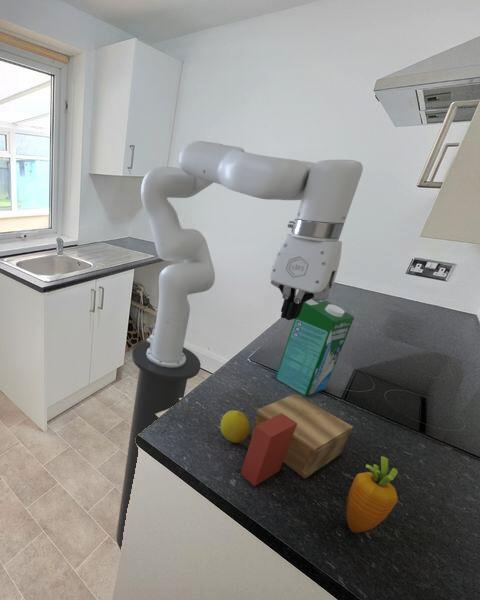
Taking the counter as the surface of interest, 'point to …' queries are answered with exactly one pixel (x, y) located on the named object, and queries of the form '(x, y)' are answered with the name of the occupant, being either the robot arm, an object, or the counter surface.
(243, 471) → the brick
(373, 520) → the carrot
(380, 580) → the counter surface
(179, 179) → the robot arm
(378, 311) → the counter surface
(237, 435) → the lemon
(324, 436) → the wooden slab
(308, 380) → the milk carton
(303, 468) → the chest
